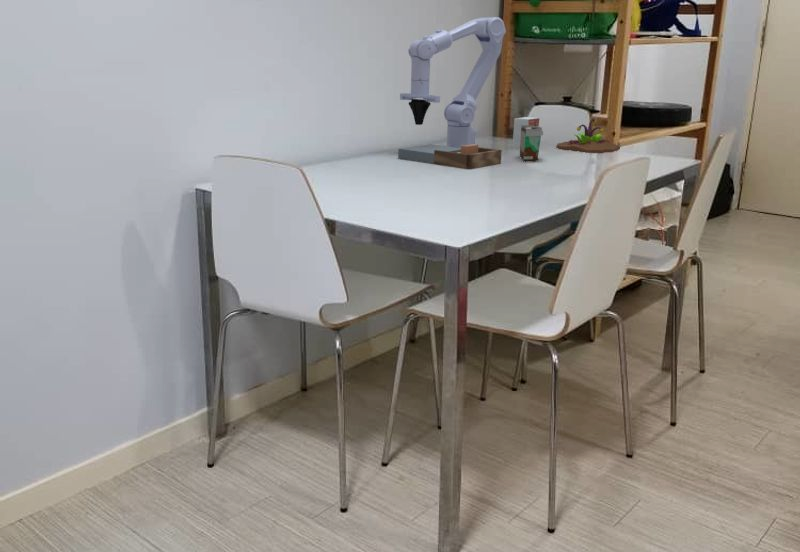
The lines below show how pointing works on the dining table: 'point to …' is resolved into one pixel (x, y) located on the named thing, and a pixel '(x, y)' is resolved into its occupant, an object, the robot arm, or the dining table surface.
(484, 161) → the tray
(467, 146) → the terracotta tile
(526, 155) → the food container
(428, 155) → the bench plate
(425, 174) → the dining table surface
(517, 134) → the small box
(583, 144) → the plant
